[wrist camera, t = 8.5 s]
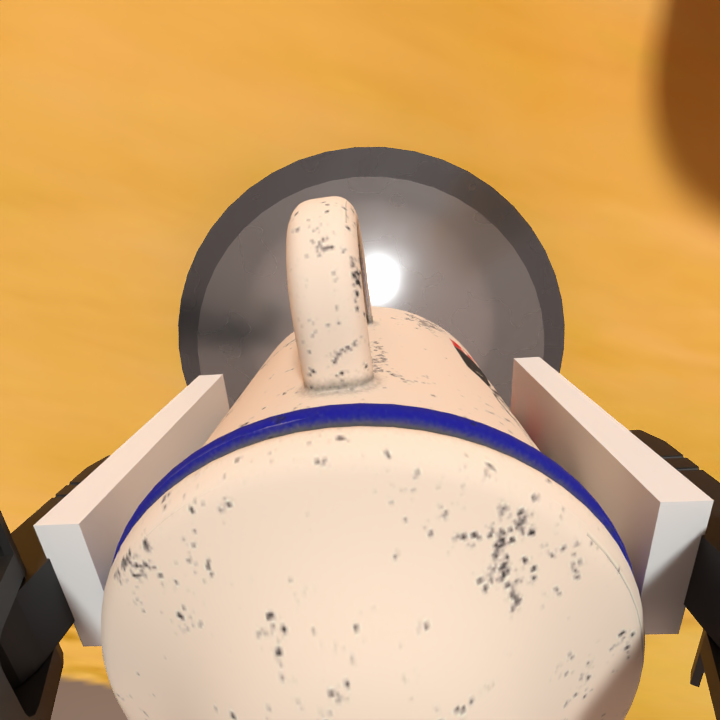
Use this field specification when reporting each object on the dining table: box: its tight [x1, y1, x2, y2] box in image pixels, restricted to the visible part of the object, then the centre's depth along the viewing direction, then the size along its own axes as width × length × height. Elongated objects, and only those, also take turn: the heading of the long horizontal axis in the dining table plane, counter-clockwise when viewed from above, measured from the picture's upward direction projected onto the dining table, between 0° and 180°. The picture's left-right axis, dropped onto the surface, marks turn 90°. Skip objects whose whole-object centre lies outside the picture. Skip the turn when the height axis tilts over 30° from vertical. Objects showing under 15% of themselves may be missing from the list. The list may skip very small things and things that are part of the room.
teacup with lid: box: [101, 196, 645, 720], centre depth 9 cm, size 12×9×12 cm
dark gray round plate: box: [178, 147, 564, 410], centre depth 18 cm, size 16×16×3 cm
